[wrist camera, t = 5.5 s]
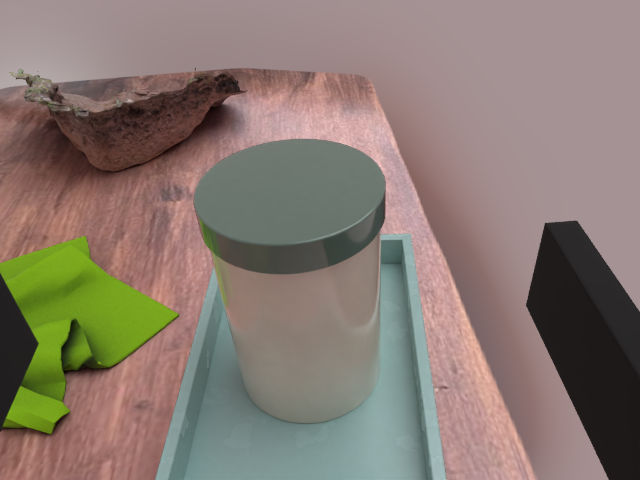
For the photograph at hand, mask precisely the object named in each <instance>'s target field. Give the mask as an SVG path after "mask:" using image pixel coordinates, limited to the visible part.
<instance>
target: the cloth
mask: <svg viewBox="0 0 640 480" xmlns="http://www.w3.org/2000/svg"><path fill="white" fill-rule="evenodd" d="M0 273H1V275H2V277H3V279H4V281H5V283H6V284H7V286H8V288H9V290H10V292H11V294H12V295H13V297H14V299H15V301H16V303H17V305H18V306H19V308H20V310H21V312H22V314H23V316H24V317H25V319H26V321H27V323H28V325H29V327H30V328H31V330H32V332H33V334H34V336H35V338H36V339H37V341H38V343H39V345H38V347H37V349H36V351H35V354H34V356H33V358H32V361H31V363H30V365H29V367H28V370H27V372H26V374H25V376H24V379H23V381H22V383H21V385H20V388H19V390H18V392H17V394H16V397H15V399H14V401H13V403H12V406H11V408H10V410H9V413H8V415H7V417H6V419H5V422H4V424H3V426H2V427H6V428H24V427H28V428H32V429H35V430H39V431H42V432H46V433H49V434H51V433H52V431H53V429H54V427H55V424H56V422H57V421H58V420H59V419H60V418H61V417H62V416H64V415H66V414H67V413H69V412H70V410H69V409H68V408H67V407H66V406H65V405H64V404H63V398H64V395H65V389H66V382H67V381H66V379H65V376H64V373H63V371H64V370H79V369H82V368H85V367H90V368H93V369H95V368H106V367H111V366H113V365H115V364H117V363H119V362H120V361H121V360H123V359H124V358H125V357H127V356H128V355H129V354H131V353H132V352H133V351H135V350H136V349H137V348H139V347H140V346H141V345H142V344H144V343H145V342H146V341H148V340H149V339H150V338H151V337H153V336H154V335H155V334H157V333H158V332H159V331H160V330H162V329H163V328H164V327H165V326H167V325H168V324H169V323H170V322H171V321H173V320H174V319H175V318H177V317H178V316H179V314H178V313H176V312H174V311H172V310H170V309H169V308H167V307H166V306H164V305H162V304H160V303H159V302H157V301H155V300H153V299H151V298H149V297H148V296H146V295H144V294H142V293H141V292H139V291H137V290H135V289H133V288H132V287H130V286H128V285H126V284H124V283H123V282H121V281H120V280H118V279H116V278H114V277H112V276H110V275H108V274H107V273H106V272H105V271H103V270H102V269H101V268H100V267H98V266H97V265H96V264H95V263H94V262H93V261H92V260H91V257H90V252H89V247H88V243H87V239H86V236H83V237H80V238H77V239H74V240H70V241H67V242H64V243H61V244H57V245H54V246H51V247H48V248H45V249H42V250H39V251H36V252H32V253H29V254H26V255H23V256H20V257H17V258H14V259H11V260H9V261H6V262H3V263H0Z"/></svg>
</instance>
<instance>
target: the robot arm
mask: <svg viewBox="0 0 640 480" xmlns="http://www.w3.org/2000/svg"><path fill="white" fill-rule="evenodd" d="M526 306H527V308H528V310H529V312H530V315H531V317H532V319H533V321H534V323H535V325H536V327H537V329H538V331H539V334H540V336H541V338H542V340H543V342H544V344H545V346H546V348H547V350H548V353H549V355H550V357H551V359H552V361H553V363H554V365H555V367H556V369H557V371H558V374H559V376H560V378H561V380H562V382H563V384H564V386H565V388H566V390H567V393H568V395H569V397H570V399H571V401H572V403H573V405H574V407H575V409H576V411H577V414H578V415H579V417H580V420H581V422H582V424H583V426H584V428H585V430H586V432H587V434H588V437H589V439H590V441H591V443H592V445H593V447H594V449H595V451H596V454H597V456H598V458H599V460H600V462H601V464H602V466H603V468H604V470H605V472H606V474H607V477H608V479H609V480H640V312H639V310H638V309H637V307H636V306H635V304H634V303H633V302H632V300H631V299H630V297H629V296H628V294H627V293H626V291H625V290H624V288H623V287H622V285H621V284H620V282H619V281H618V280H617V278H616V277H615V275H614V274H613V272H612V271H611V269H610V268H609V266H608V265H607V264H606V262H605V261H604V259H603V258H602V256H601V255H600V253H599V252H598V251H597V249H596V248H595V246H594V245H593V243H592V242H591V240H590V239H589V237H588V236H587V234H586V233H585V232H584V230H583V229H582V227H581V226H580V224H579V223H578V222H577V221H566V222H554V223H545V226H544V230H543V234H542V239H541V243H540V247H539V252H538V256H537V260H536V265H535V269H534V273H533V277H532V282H531V286H530V290H529V295H528V300H527V303H526ZM38 345H39V343H38V341H37V339H36V338H35V336H34V334H33V332H32V330H31V328H30V327H29V325H28V323H27V321H26V319H25V317H24V316H23V314H22V312H21V310H20V308H19V306H18V305H17V303H16V301H15V299H14V297H13V295H12V294H11V292H10V290H9V288H8V286H7V284H6V283H5V281H4V279H3V277H2V275H1V273H0V431H1V428H2V426H3V424H4V422H5V419H6V417H7V415H8V413H9V410H10V408H11V406H12V403H13V401H14V399H15V397H16V394H17V392H18V390H19V388H20V385H21V383H22V381H23V379H24V376H25V374H26V372H27V370H28V367H29V365H30V363H31V361H32V358H33V356H34V354H35V351H36V349H37V347H38Z"/></svg>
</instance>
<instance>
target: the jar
mask: <svg viewBox="0 0 640 480" xmlns="http://www.w3.org/2000/svg"><path fill="white" fill-rule="evenodd" d="M385 203H386V182H385V178H384V175H383V173H382V171H381V169H380V167H379V166H378V165H377V163H376V162H375V161H374V160H373V159H372V158H370V157H369V156H368V155H366V154H365V153H363V152H361V151H359V150H357V149H355V148H353V147H350V146H348V145H344V144H341V143H337V142H332V141H326V140H318V139H289V140H280V141H273V142H268V143H263V144H260V145H256V146H252V147H249V148H247V149H244V150H241V151H239V152H237V153H234V154H232V155H230V156H228V157H227V158H225V159H223V160H222V161H220V162H218V163H217V164H216V165H214V166H213V167H212V168H211V169H210V170H209V171H208V172H207V173H206V174H205V175H204V176H203V177H202V179H201V180H200V181H199V183H198V185H197V187H196V190H195V194H194V208H195V212H196V216H197V220H198V224H199V228H200V232H201V236H202V238H203V240H204V242H205V244H206V245H207V247H208V248H209V249H210V252H211V256H212V260H213V265H214V269H215V273H216V277H217V281H218V285H219V289H220V293H221V297H222V302H223V306H224V310H225V314H226V318H227V322H228V326H229V330H230V334H231V338H232V343H233V347H234V351H235V355H236V359H237V363H238V367H239V371H240V375H241V380H242V384H243V387H244V389H245V391H246V393H247V395H248V396H249V398H250V399H251V400H252V401H253V403H254V404H255V405H256V406H258V407H259V408H260V409H261V410H262V411H264V412H266V413H267V414H269V415H271V416H273V417H275V418H278V419H281V420H284V421H287V422H293V423H304V424H309V423H320V422H325V421H329V420H332V419H336V418H338V417H341V416H343V415H345V414H347V413H349V412H350V411H352V410H354V409H355V408H356V407H358V406H359V405H360V404H361V403H362V402H363V401H364V400H365V399H366V398H367V397H368V396H369V395H370V393H371V392H372V391H373V389H374V387H375V386H376V384H377V381H378V378H379V376H380V370H381V228H382V225H383V223H384V219H385Z"/></svg>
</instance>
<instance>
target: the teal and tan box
mask: <svg viewBox="0 0 640 480" xmlns="http://www.w3.org/2000/svg"><path fill="white" fill-rule="evenodd" d="M155 480H447V478H446V471H445V464H444V457H443V450H442V444H441V437H440V430H439V423H438V416H437V409H436V402H435V396H434V389H433V382H432V375H431V368H430V361H429V354H428V347H427V341H426V334H425V327H424V320H423V313H422V306H421V299H420V293H419V286H418V279H417V272H416V265H415V258H414V251H413V245H412V238H411V234H381V370H380V376H379V378H378V381H377V384H376V386H375V387H374V389H373V391H372V392H371V393H370V395H369V396H368V397H367V398H366V399H365V400H364V401H363V402H362V403H361V404H360V405H359V406H358V407H356V408H355V409H354V410H352V411H350V412H349V413H347V414H345V415H343V416H341V417H338V418H336V419H332V420H329V421H325V422H320V423H309V424H304V423H293V422H287V421H284V420H281V419H278V418H275V417H273V416H271V415H269V414H267V413H266V412H264V411H262V410H261V409H260V408H259V407H258V406H256V405H255V404H254V403H253V401H252V400H251V399H250V398H249V396H248V395H247V393H246V391H245V389H244V387H243V384H242V380H241V375H240V371H239V367H238V363H237V359H236V355H235V351H234V347H233V343H232V338H231V334H230V330H229V326H228V322H227V318H226V314H225V310H224V306H223V302H222V297H221V293H220V289H219V285H218V281H217V277H216V273H215V269H214V267H213V271H212V274H211V278H210V282H209V285H208V289H207V292H206V296H205V300H204V303H203V307H202V311H201V314H200V318H199V321H198V325H197V329H196V332H195V336H194V340H193V343H192V347H191V351H190V354H189V358H188V361H187V365H186V369H185V372H184V376H183V380H182V383H181V387H180V390H179V394H178V398H177V401H176V405H175V409H174V412H173V416H172V420H171V423H170V427H169V430H168V434H167V438H166V441H165V445H164V449H163V452H162V456H161V459H160V463H159V467H158V470H157V474H156V478H155Z"/></svg>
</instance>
